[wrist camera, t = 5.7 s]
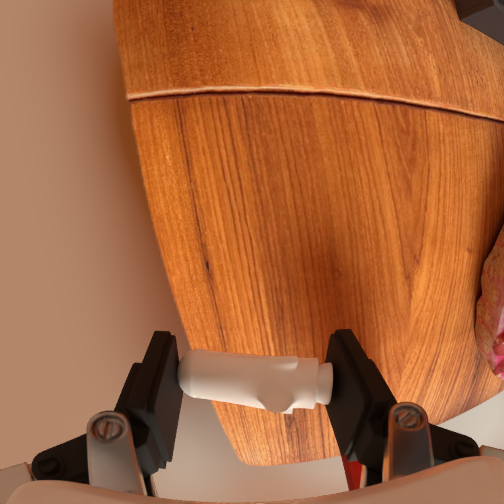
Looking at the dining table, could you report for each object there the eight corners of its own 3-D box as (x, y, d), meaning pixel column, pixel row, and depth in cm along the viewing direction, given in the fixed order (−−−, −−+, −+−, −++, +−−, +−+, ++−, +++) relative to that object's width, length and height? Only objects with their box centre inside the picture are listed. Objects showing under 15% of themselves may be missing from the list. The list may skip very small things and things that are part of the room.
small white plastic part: (188, 290, 10) (172, 342, 7) (333, 342, 11) (358, 395, 8) (161, 361, 11) (144, 417, 8) (291, 400, 12) (302, 454, 9)
